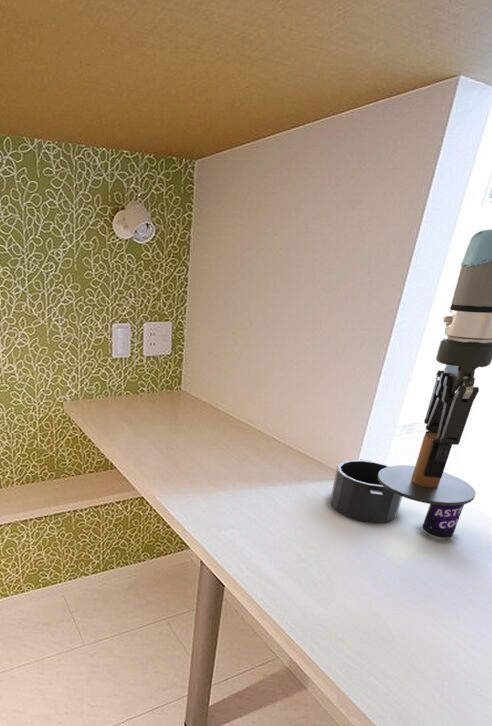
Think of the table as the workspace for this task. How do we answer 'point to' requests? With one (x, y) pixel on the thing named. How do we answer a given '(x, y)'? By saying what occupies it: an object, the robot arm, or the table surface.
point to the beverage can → (442, 520)
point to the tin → (363, 493)
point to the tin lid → (425, 481)
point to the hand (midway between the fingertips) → (428, 470)
